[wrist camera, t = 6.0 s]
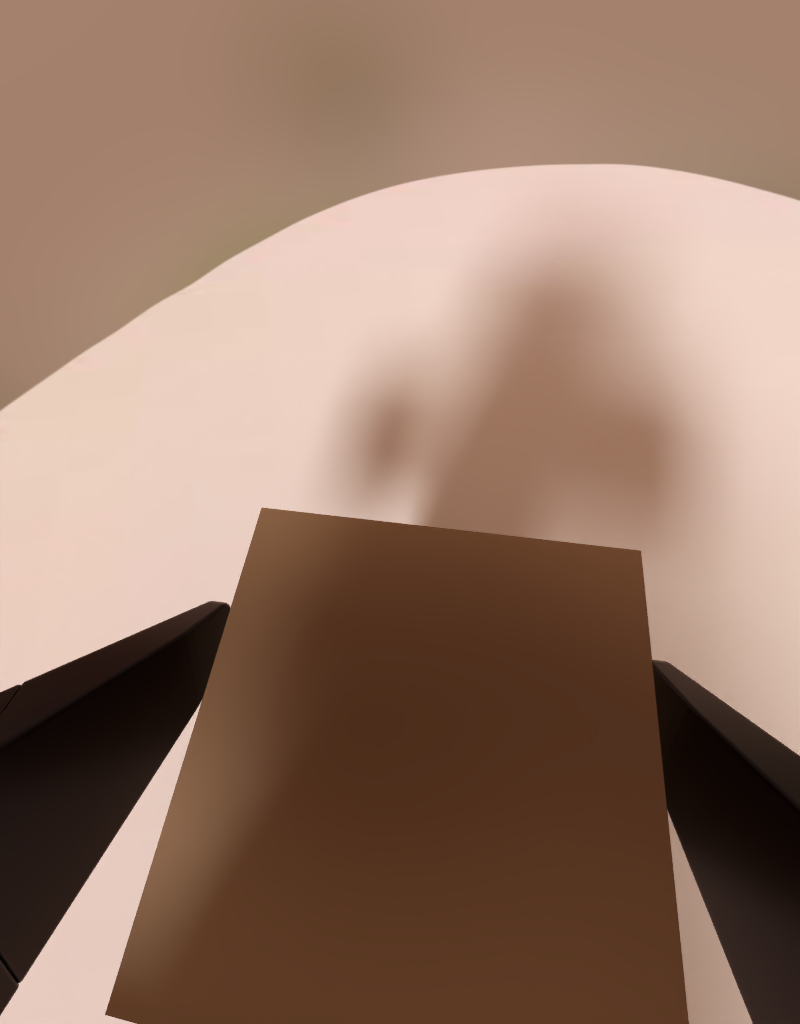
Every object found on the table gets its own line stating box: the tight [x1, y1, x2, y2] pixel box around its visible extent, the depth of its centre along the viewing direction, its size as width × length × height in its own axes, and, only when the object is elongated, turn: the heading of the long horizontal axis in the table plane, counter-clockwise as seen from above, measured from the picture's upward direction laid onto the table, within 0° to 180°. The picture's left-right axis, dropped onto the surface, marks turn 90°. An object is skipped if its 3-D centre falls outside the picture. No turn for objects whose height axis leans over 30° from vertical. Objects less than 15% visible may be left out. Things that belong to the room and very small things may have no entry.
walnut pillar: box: [105, 508, 689, 1024], centre depth 10 cm, size 5×5×12 cm
